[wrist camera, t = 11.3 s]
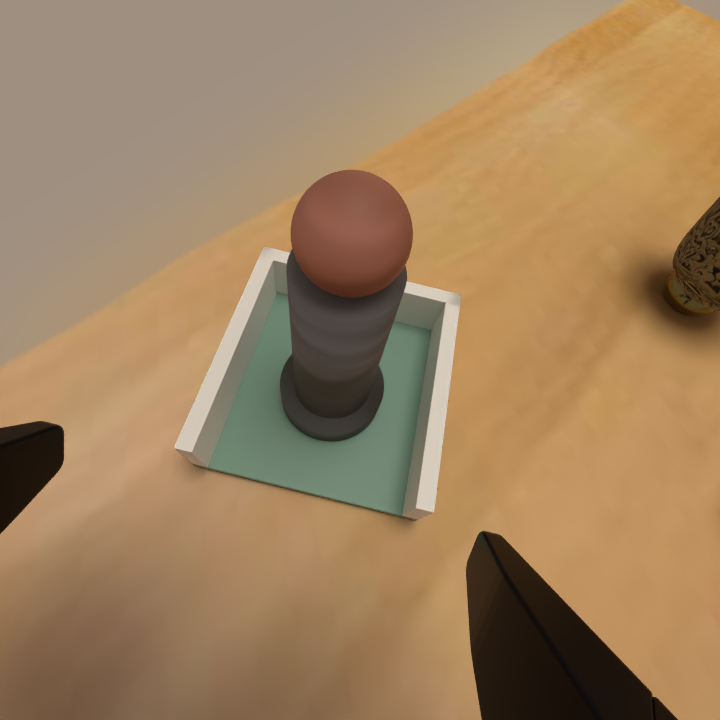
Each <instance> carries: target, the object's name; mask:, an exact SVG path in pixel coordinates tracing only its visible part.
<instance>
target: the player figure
mask: <svg viewBox="0 0 720 720" xmlns="http://www.w3.org/2000/svg"><path fill="white" fill-rule="evenodd" d="M412 240H413V229H412V221H411V217H410V214H409V211H408V208H407V206H406V204H405V202H404V201H403V199H402V197H401V196H400V194H399V193H398V192H397V191H396V190H395V189H394V188H393V187H392V186H391V185H390V184H389V183H388V182H386V181H385V180H383V179H382V178H380V177H378V176H376V175H374V174H372V173H369V172H365V171H360V170H343V171H338V172H335V173H331V174H329V175H327V176H325V177H323V178H321V179H319V180H318V181H316V182H315V183H314V184H313V185H312V186H311V187H310V188H309V189H308V190H307V191H306V192H305V193H304V194H303V196H302V197H301V199H300V201H299V202H298V204H297V207H296V209H295V212H294V214H293V218H292V224H291V243H292V248H293V249H292V250H291V252H290V254H289V257H288V260H287V266H286V274H287V288H288V302H289V316H290V330H291V343H292V355H291V356H290V357H289V358H288V360H287V361H286V363H285V365H284V367H283V369H282V373H281V377H280V392H281V398H282V404H283V408H284V411H285V413H286V415H287V417H288V419H289V420H290V422H291V423H292V424H293V425H294V426H295V427H296V428H297V429H298V430H299V431H300V432H302V433H303V434H305V435H307V436H309V437H311V438H314V439H317V440H321V441H330V442H333V441H342V440H346V439H349V438H352V437H354V436H356V435H358V434H359V433H361V432H362V431H363V430H364V429H366V428H367V427H368V426H369V424H370V423H371V422H372V420H373V419H374V417H375V415H376V413H377V411H378V409H379V406H380V404H381V402H382V398H383V394H384V378H383V374H382V371H381V369H380V366H379V363H380V360H381V357H382V354H383V352H384V349H385V346H386V343H387V340H388V337H389V334H390V331H391V328H392V325H393V322H394V319H395V316H396V314H397V311H398V308H399V305H400V302H401V299H402V296H403V293H404V290H405V287H406V282H407V271H406V266H405V264H406V262H407V260H408V258H409V255H410V251H411V247H412Z"/></svg>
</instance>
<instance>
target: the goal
mask: <svg viewBox="0 0 720 720" xmlns="http://www.w3.org/2000/svg"><path fill="white" fill-rule="evenodd" d="M289 254H290V253H288V252H284V251H280V250H276V249H272V248H268V247H263V250H262V252H261V254H260V256H259V259H258V261H257V263H256V265H255V268H254V270H253V272H252V274H251V277H250V279H249V281H248V283H247V285H246V288H245V290H244V292H243V294H242V297H241V299H240V301H239V303H238V306H237V308H236V310H235V312H234V315H233V317H232V319H231V321H230V323H229V326H228V328H227V330H226V332H225V335H224V337H223V339H222V341H221V344H220V346H219V348H218V350H217V352H216V355H215V357H214V359H213V361H212V364H211V366H210V368H209V370H208V373H207V375H206V377H205V379H204V382H203V384H202V386H201V388H200V390H199V393H198V395H197V397H196V399H195V402H194V404H193V406H192V408H191V411H190V413H189V415H188V417H187V420H186V422H185V424H184V426H183V428H182V431H181V433H180V435H179V437H178V440H177V442H176V444H175V446H174V449H176V450H177V451H178V452H179V453H180V454H182V455H183V456H184V457H185V458H186V459H187V460H189V461H190V462H191V463H192V464H193V465H194V466H198V467H202V468H206V469H210V470H214V471H218V472H222V473H226V474H230V475H234V476H238V477H242V478H246V479H250V480H254V481H258V482H262V483H266V484H270V485H274V486H278V487H282V488H286V489H290V490H295V491H299V492H303V493H307V494H311V495H315V496H319V497H323V498H327V499H331V500H335V501H339V502H343V503H347V504H351V505H355V506H359V507H363V508H367V509H371V510H375V511H379V512H383V513H387V514H391V515H395V516H399V517H403V518H407V519H411V520H415V521H416V520H418V519H420V518H422V517H425V516H427V515H429V514H432V513H434V508H435V500H436V492H437V484H438V476H439V468H440V460H441V452H442V444H443V436H444V428H445V419H446V411H447V403H448V395H449V387H450V379H451V371H452V363H453V355H454V347H455V339H456V331H457V323H458V315H459V307H460V299H461V295H460V294H456V293H452V292H448V291H444V290H439V289H435V288H431V287H427V286H423V285H419V284H415V283H411V282H406V287H405V290H404V293H403V296H402V299H401V302H400V305H399V308H398V311H397V314H396V316H395V319H394V322H393V325H392V328H391V331H390V334H389V337H388V340H387V343H386V346H385V349H384V352H383V354H382V357H381V360H380V363H379V366H380V369H381V371H382V374H383V378H384V394H383V398H382V402H381V404H380V406H379V409H378V411H377V413H376V415H375V417H374V419H373V420H372V422H371V423H370V424H369V426H368V427H367V428H366V429H364V430H363V431H362V432H361V433H359V434H358V435H356V436H354V437H352V438H349V439H346V440H342V441H333V442H330V441H321V440H317V439H314V438H311V437H309V436H307V435H305V434H303V433H302V432H300V431H299V430H298V429H297V428H296V427H295V426H294V425H293V424H292V423H291V422H290V420H289V419H288V417H287V415H286V413H285V411H284V408H283V404H282V398H281V392H280V377H281V373H282V369H283V367H284V365H285V363H286V361H287V360H288V358H289V357H290V356H291V355H292V343H291V330H290V316H289V302H288V288H287V274H286V266H287V260H288V257H289Z"/></svg>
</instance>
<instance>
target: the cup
mask: <svg viewBox="0 0 720 720" xmlns="http://www.w3.org/2000/svg"><path fill="white" fill-rule="evenodd" d="M664 294H665V296H666V298H667V300H668V301H669V303H670V304H671V305H672V306H673V307H674V308H676V309H677V310H679V311H680V312H682V313H685V314H688V315H692V316H700V315H705V314H709V313H712V312H713V311H715V310H720V197H719V198H718V199H717V200H716V202H715V203H714V204H713V205H712V206H711V207H710V208H709V209H708V210H707V211H706V213H705V214H704V215H703V216H702V217H701V218H700V219H699V220H698V221H697V223H696V224H695V225H694V226H693V227H692V228H691V229H690V231H689V232H688V233H687V234H686V236H685V237H684V238H683V240H682V241H681V243H680V244H679V246H678V247H677V250H676V252H675V254H674V258H673V273H672V274H671V275H670V276H669V277H668V279H667V281H666V283H665V285H664Z"/></svg>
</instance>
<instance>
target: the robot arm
mask: <svg viewBox="0 0 720 720" xmlns="http://www.w3.org/2000/svg"><path fill="white" fill-rule="evenodd" d="M63 461H64V430H63V428H62V427H61V426H60V425H56V424H53V423H49V422H44V421H37V422H31V423H26V424H20V425H15V426H9V427H4V428H0V534H1V533H2V532H3V531H4V530H5V529H6V528H7V526H8V525H9V524H10V523H11V522H12V521H13V520H14V519H15V518H16V517H17V516H18V515H19V514H20V513H21V512H22V510H23V509H24V508H25V507H26V506H27V505H28V504H29V503H30V502H31V501H32V500H33V498H34V497H35V496H36V495H37V494H38V493H39V492H40V491H41V490H42V489H43V488H44V487H45V485H46V484H47V483H48V482H49V481H50V480H51V479H52V478H53V477H54V476H55V475H56V473H57V472H58V471H59V470H60V468H61V466H62V464H63ZM466 580H467V597H468V614H469V631H470V645H471V654H472V661H473V668H474V674H475V680H476V686H477V693H478V699H479V705H480V711H481V717H482V720H678V719H677V718H676V717H675V716H674V715H673V714H672V713H671V712H670V711H669V710H668V709H667V708H666V707H665V706H664V705H663V703H662V702H661V701H660V700H659V699H658V698H656V697H653V696H652V693H651V691H650V690H649V689H648V688H647V687H646V686H645V685H644V684H643V683H642V682H641V681H640V680H639V679H638V678H637V677H636V675H635V674H634V673H633V672H632V671H631V670H630V669H629V668H628V667H627V666H626V665H625V664H624V663H623V662H622V661H621V660H620V659H619V658H618V657H617V656H616V655H615V654H614V653H613V652H612V650H611V649H610V648H609V647H608V646H607V645H606V644H605V643H604V642H603V641H602V640H601V639H600V638H599V637H598V636H597V635H596V634H595V633H594V632H593V631H592V630H591V629H590V628H589V626H588V625H587V624H586V623H585V622H584V621H583V620H582V619H581V618H580V617H579V616H578V615H577V614H576V613H575V612H574V611H573V610H572V609H571V608H570V607H569V606H568V605H567V604H566V602H565V601H564V600H563V599H562V598H561V597H560V596H559V595H558V594H557V593H556V592H555V591H554V590H553V589H552V588H551V587H550V586H549V585H548V584H547V583H546V582H545V581H544V580H543V579H542V577H541V576H540V575H539V574H538V573H537V572H536V571H535V570H534V569H533V568H532V567H531V566H530V565H529V564H528V563H527V562H526V561H525V560H524V559H523V558H522V557H521V556H520V555H519V553H518V552H517V551H516V550H515V549H514V548H513V547H512V546H511V545H510V544H509V543H508V542H507V541H506V540H505V539H504V538H503V537H502V536H501V535H499V534H495V533H491V532H487V531H482V532H480V533H479V534H478V536H477V538H476V541H475V543H474V546H473V548H472V551H471V553H470V556H469V558H468V561H467V566H466Z"/></svg>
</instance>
